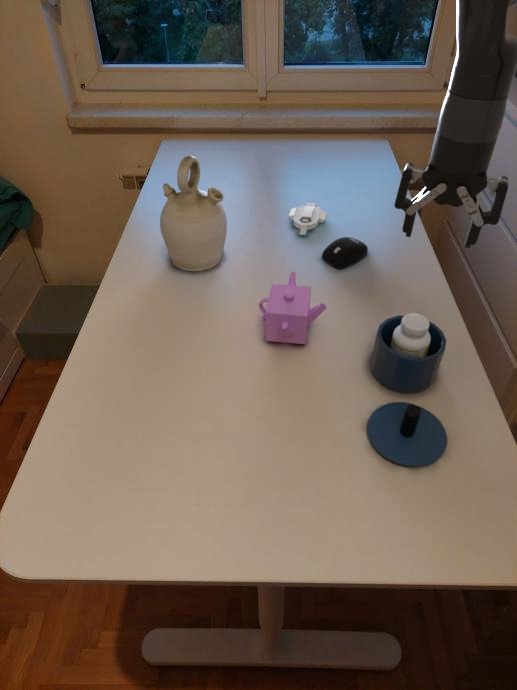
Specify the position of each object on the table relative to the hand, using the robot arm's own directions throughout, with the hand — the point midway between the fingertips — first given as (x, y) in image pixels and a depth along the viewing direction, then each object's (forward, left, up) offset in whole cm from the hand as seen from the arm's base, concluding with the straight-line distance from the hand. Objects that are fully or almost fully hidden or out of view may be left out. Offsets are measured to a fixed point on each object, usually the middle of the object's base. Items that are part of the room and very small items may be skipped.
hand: (437, 239), depth 75 cm
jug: (+53, -21, -28) cm, 64 cm away
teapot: (+23, -3, -28) cm, 37 cm away
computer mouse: (+19, -34, -28) cm, 48 cm away
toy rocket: (+33, -47, -28) cm, 64 cm away
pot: (0, 0, -28) cm, 28 cm away
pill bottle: (0, 0, -28) cm, 28 cm away
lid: (-3, +15, -28) cm, 32 cm away
